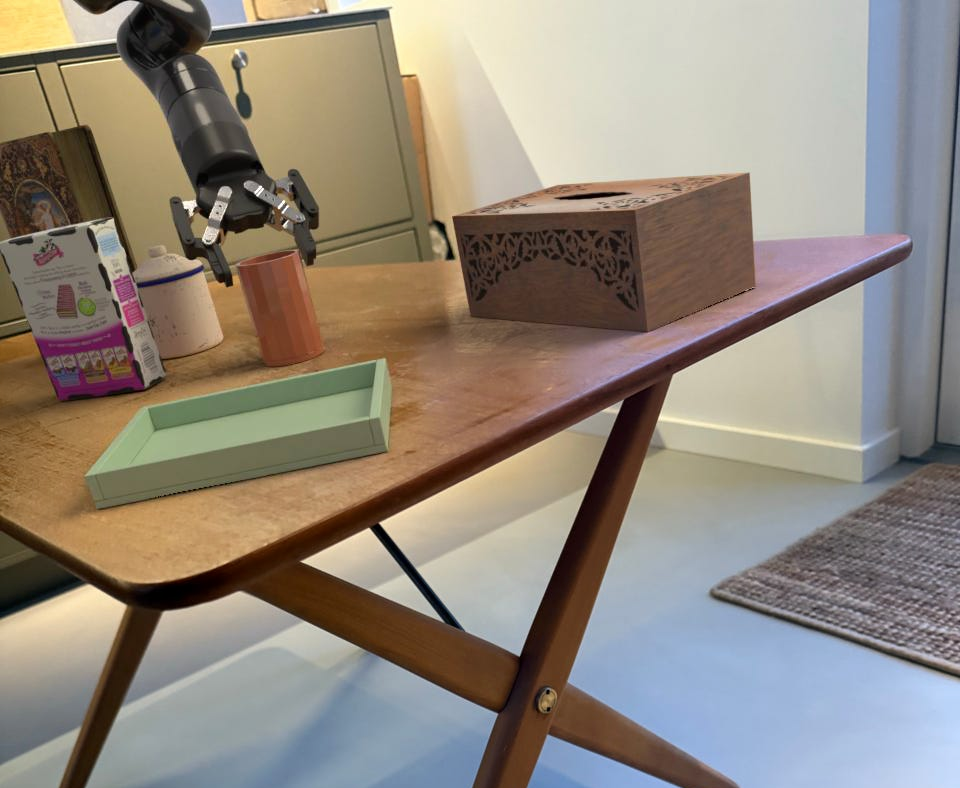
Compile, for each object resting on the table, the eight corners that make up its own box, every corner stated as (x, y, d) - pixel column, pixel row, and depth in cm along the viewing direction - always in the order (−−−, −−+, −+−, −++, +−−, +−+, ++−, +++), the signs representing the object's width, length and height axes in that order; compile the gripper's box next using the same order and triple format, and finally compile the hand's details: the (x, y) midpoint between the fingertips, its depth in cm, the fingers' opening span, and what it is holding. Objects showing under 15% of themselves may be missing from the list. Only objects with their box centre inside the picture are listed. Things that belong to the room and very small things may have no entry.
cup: (260, 370, 105) (231, 269, 100) (268, 355, 110) (240, 259, 105) (321, 358, 104) (295, 255, 100) (326, 344, 110) (301, 246, 105)
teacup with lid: (226, 333, 127) (196, 233, 121) (226, 347, 119) (194, 241, 113) (128, 356, 125) (94, 256, 120) (123, 371, 117) (85, 266, 112)
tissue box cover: (470, 316, 109) (452, 216, 104) (570, 280, 115) (557, 184, 110) (647, 331, 89) (635, 210, 85) (755, 287, 96) (749, 172, 91)
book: (50, 357, 134) (-30, 150, 122) (84, 345, 138) (10, 142, 126) (128, 356, 125) (50, 131, 113) (162, 342, 129) (90, 123, 117)
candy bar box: (170, 376, 110) (116, 214, 102) (147, 391, 106) (88, 223, 98) (82, 388, 114) (23, 232, 106) (56, 402, 109) (-7, 241, 101)
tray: (96, 509, 75) (83, 476, 73) (150, 436, 90) (140, 407, 89) (387, 451, 74) (379, 416, 72) (392, 387, 89) (385, 357, 88)
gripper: (281, 161, 113) (336, 278, 109) (153, 190, 109) (205, 312, 105) (278, 105, 106) (337, 227, 102) (142, 134, 102) (197, 263, 98)
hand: (270, 270), depth 103 cm, fingers open, 8 cm apart
